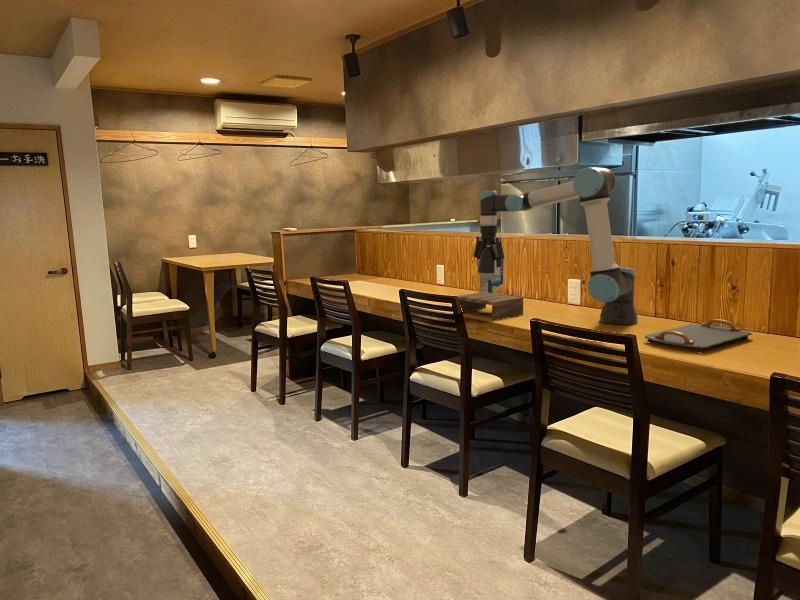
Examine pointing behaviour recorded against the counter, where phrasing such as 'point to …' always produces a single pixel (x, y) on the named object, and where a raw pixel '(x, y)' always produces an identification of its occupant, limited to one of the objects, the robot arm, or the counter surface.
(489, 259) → the black rounded dome
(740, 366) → the counter surface
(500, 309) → the walnut shelf
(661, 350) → the counter surface
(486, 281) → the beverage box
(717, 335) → the serving board
